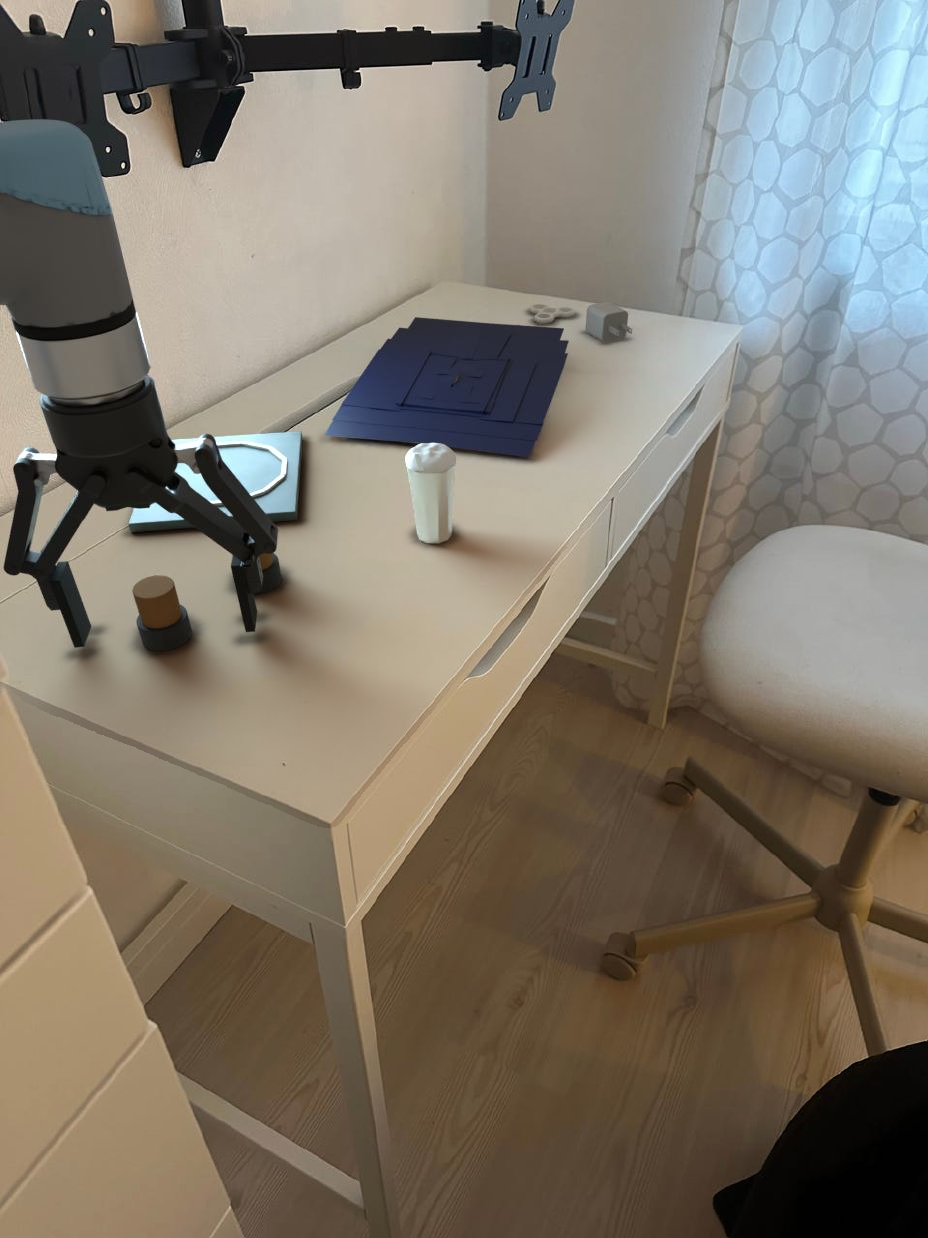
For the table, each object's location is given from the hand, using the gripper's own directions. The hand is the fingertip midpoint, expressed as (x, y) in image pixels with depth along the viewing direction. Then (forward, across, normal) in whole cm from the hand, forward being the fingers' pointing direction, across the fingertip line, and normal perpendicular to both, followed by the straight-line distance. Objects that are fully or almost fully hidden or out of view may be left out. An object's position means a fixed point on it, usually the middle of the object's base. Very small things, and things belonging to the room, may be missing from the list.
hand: (168, 629), depth 73 cm
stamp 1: (+1, 0, 0) cm, 1 cm away
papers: (+1, -29, -44) cm, 53 cm away
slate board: (+1, -2, -26) cm, 26 cm away
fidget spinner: (+1, -45, -70) cm, 83 cm away
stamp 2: (+1, -7, -7) cm, 10 cm away
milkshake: (+1, -23, -12) cm, 26 cm away
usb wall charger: (+1, -52, -60) cm, 79 cm away
